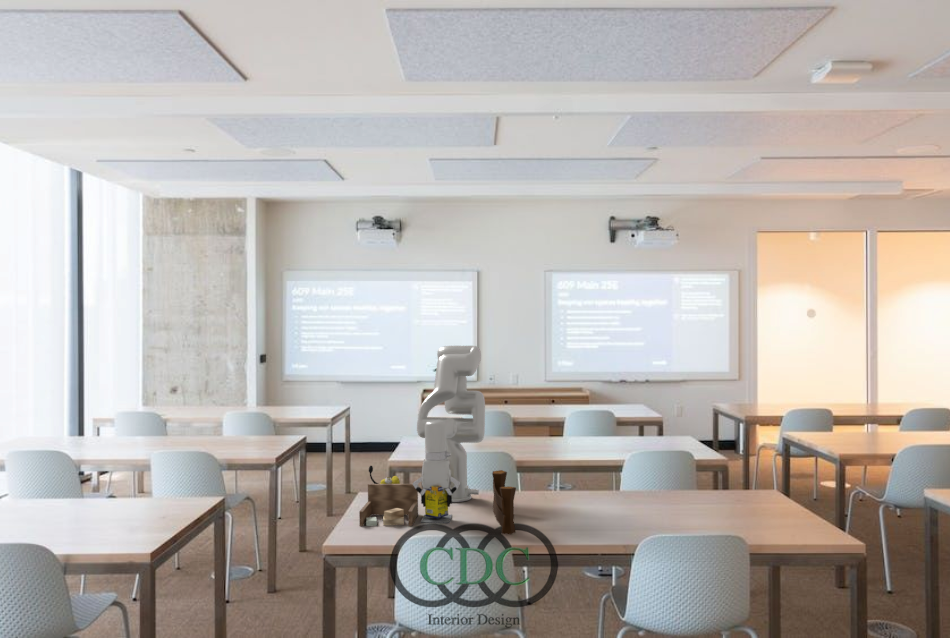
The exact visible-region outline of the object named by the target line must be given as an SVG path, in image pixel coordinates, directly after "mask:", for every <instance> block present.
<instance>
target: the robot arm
mask: <svg viewBox="0 0 950 638" xmlns="http://www.w3.org/2000/svg"><path fill="white" fill-rule="evenodd" d="M436 352H437V353H436V354H437V362H436V370H435V378H434V384H433V391H432V392H431V393H430V394H428V395H427V397H426V398H424V400H423V402H422V403H421V405H420V407H419V410H418V414H417V422H416V431H417V432H416V433H417V434H418V437H420V438H422V439H424V446H425V448H424V452H425V453H424V454H425V455H424V458H425V459H424V458H423V461H422V468H421V476H420V477H418V479H416V480H414V482H412V484H413V486H414V487H415V488H416V490H417V491H418V494H419V495H420V497H421V499H420V500H421V503H420V504H421V505H422V507H423V508H425V491H426V490H427V489H429V488H430V486H441V487H442V488H443V489H445V490H446V491H447V493H448V495H447V506H448V508H450V507H451V505H452V503H461V502H462V503H464V502H467V501H469V500H472V495H479V491H480V490H479V489H477V488H469V487H470V486H469V485H468V455H467V451H466V448H464V446H463V445H462V444H463V443H464V444H465V443H466V444H467V443H468V444H470V443H471V444H476V443H481V442H483V440H484V438H485V432H486V431H485V425H486V400H485V395H484V393H482V392H481V391H480V390H468V389H467V386H468V385H467V383H468V382H467V381H468V379H467V377H471V376H473V375H475V374H476V371H477V369H478V368H479V366H480V364H481V360H482V352H481V350H480V348H479V347H478V346H477V345H444V346H441V347H440V348H438V350H437V351H436ZM443 403H444V409H445V412H446V413H448V414H449V415H458V416H459V415H460V416H461V415H462V416H463V415H465V416H468V415H469V416H472V417H436V416H435V417H433V416H432V417H429V416H428V415H429V413H430V412H431V411H432V410H433V409H434V408H436V407H437V406H438V405H441V404H443ZM420 483H421V487H420V486H419V484H420Z"/></svg>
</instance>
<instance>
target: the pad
mask: <svg viewBox="0 0 950 638" xmlns="http://www.w3.org/2000/svg"><path fill="white" fill-rule="evenodd" d="M452 518H453V514H448V515H447V516H444V517H441V518H438V519H437V518H432V517H426V516H425V514H424V515H423V516H422V519H421V521H420V524H450V523H451V521H452Z"/></svg>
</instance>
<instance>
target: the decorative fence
mask: <svg viewBox="0 0 950 638" xmlns="http://www.w3.org/2000/svg"><path fill="white" fill-rule="evenodd" d="M491 474H492V479H493V480H492V490H493V500H492V502H493V503H492V511H493V514H494V518H495V519H496V522H497V523H498V524H499V525H500V527H501V531H500V533H502V535H513V534H516V527H515V525H516V524H515V516H514V515H515V514H514V513H515V510H514V509H515V508H514V507H515V506H514V505H515V504H514V501H515V496H516V491H517V487H515V486H506V481H507V479H506V478H507V474H508V472H507V471H505V470H500V469H499V470H494V471H492V473H491Z"/></svg>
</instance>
